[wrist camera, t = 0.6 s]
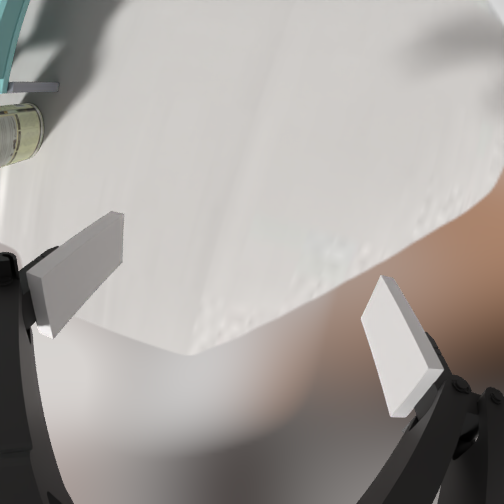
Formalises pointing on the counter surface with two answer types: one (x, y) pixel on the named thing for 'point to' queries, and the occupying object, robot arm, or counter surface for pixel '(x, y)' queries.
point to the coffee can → (19, 132)
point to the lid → (9, 35)
